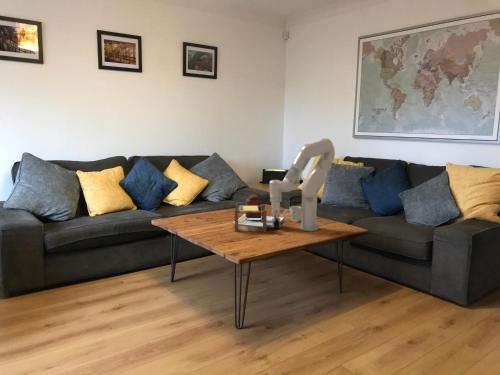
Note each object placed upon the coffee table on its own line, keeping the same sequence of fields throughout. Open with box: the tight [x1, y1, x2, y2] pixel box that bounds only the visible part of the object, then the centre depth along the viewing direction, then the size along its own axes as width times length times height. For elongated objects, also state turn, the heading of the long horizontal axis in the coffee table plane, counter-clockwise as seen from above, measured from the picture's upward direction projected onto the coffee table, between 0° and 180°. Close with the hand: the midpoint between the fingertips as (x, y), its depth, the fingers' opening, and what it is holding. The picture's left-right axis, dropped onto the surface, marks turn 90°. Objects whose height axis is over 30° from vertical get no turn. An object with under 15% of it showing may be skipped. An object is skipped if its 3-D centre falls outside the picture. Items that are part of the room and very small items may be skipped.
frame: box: [234, 204, 268, 233], centre depth 273 cm, size 20×20×14 cm
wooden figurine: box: [244, 194, 262, 219], centre depth 294 cm, size 12×6×18 cm, turn 81°
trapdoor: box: [239, 204, 259, 211], centre depth 272 cm, size 12×14×2 cm
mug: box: [283, 205, 302, 223], centre depth 292 cm, size 8×13×10 cm, turn 89°
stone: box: [271, 217, 282, 229], centre depth 274 cm, size 5×5×5 cm
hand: (276, 225), depth 275 cm, fingers closed on stone, 5 cm apart
